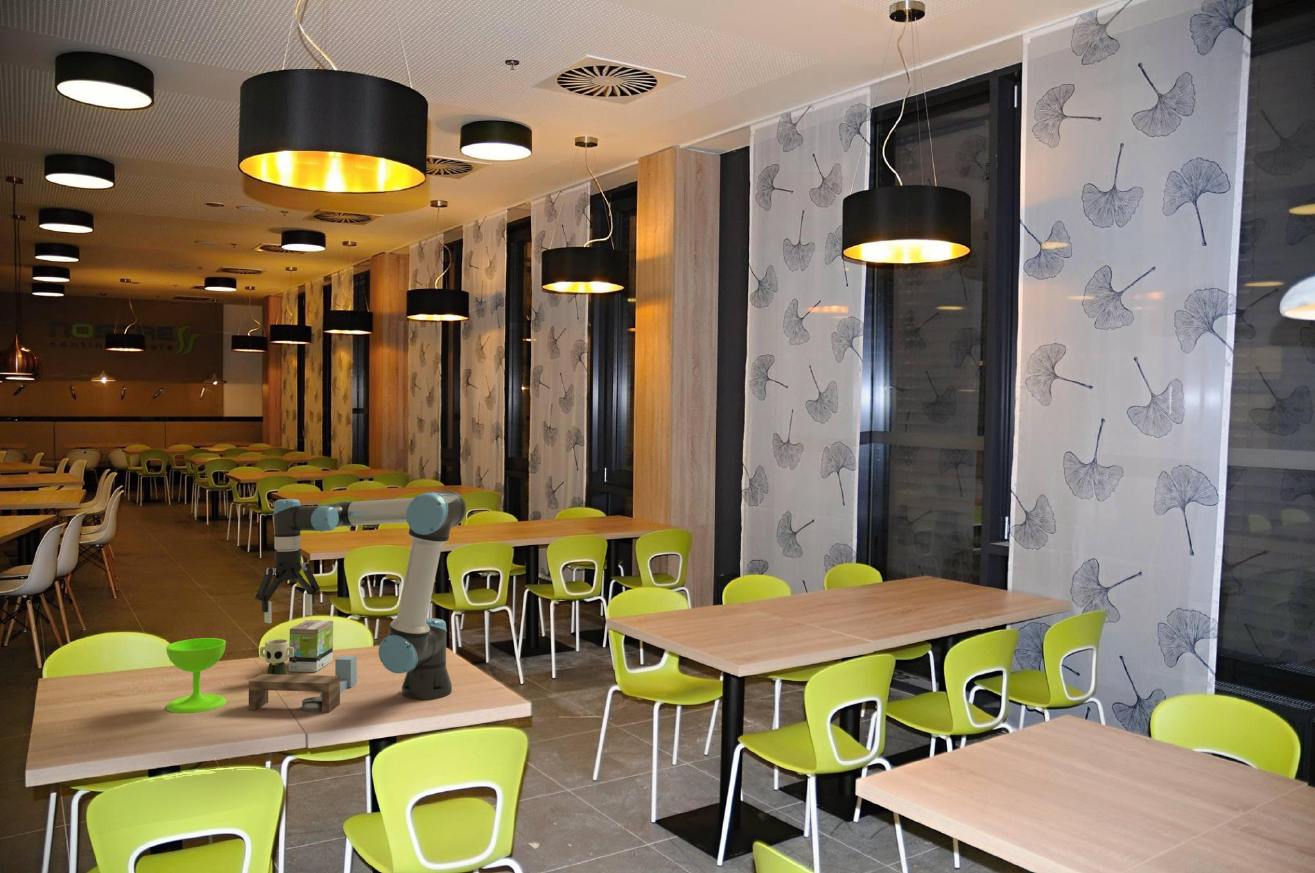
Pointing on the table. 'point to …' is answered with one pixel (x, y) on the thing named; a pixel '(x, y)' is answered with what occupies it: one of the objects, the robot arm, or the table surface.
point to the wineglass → (196, 671)
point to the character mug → (277, 655)
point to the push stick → (346, 671)
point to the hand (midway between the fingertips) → (288, 618)
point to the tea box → (311, 645)
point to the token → (312, 704)
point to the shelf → (295, 688)
